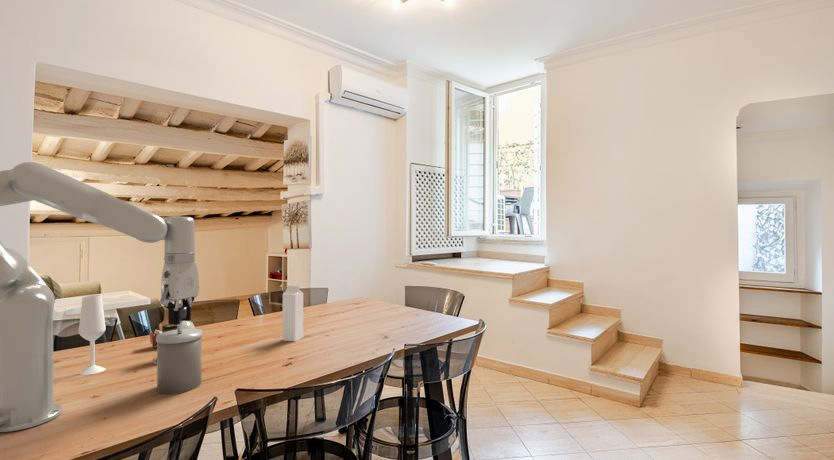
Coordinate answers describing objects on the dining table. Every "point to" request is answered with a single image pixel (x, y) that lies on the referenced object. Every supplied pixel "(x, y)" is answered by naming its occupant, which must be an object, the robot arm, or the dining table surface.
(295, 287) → the milk
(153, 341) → the potion bottle
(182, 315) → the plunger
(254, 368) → the dining table surface
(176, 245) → the robot arm
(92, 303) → the champagne flute
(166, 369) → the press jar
